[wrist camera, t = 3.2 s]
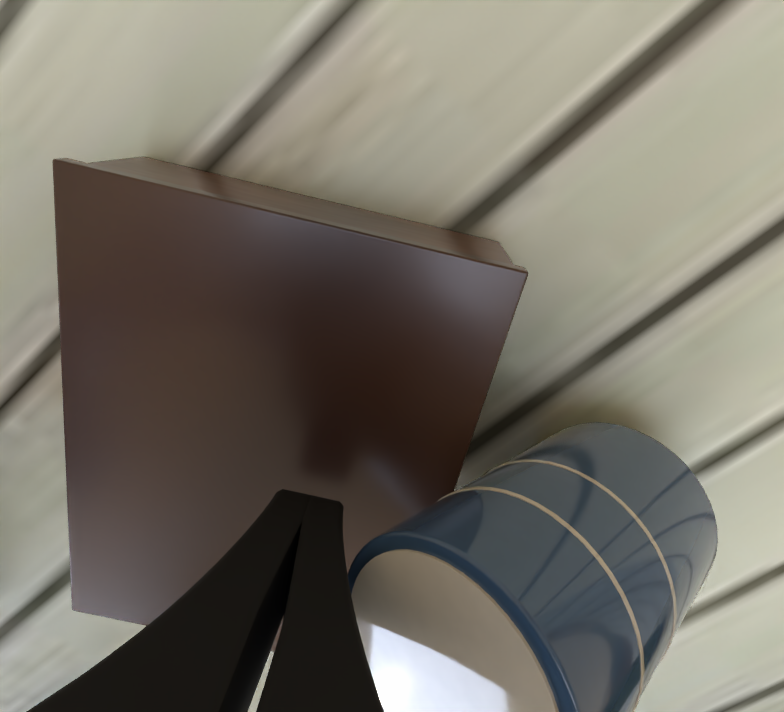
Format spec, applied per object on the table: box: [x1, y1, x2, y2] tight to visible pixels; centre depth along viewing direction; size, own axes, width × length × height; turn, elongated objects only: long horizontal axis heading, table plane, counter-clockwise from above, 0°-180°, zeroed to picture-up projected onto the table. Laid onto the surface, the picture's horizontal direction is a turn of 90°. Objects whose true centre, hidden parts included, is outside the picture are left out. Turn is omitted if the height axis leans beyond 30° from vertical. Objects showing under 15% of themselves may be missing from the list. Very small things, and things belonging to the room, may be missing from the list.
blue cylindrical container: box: [348, 422, 718, 712], centre depth 11 cm, size 9×5×9 cm, turn 77°
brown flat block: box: [53, 157, 528, 652], centre depth 14 cm, size 9×12×3 cm
